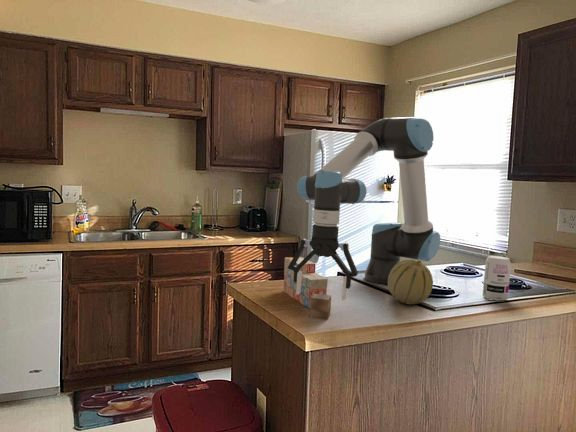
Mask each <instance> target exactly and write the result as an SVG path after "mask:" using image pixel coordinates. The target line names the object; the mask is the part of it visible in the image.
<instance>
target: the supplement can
mask: <svg viewBox="0 0 576 432" xmlns="http://www.w3.org/2000/svg"><path fill="white" fill-rule="evenodd" d="M511 266H512V262H511V260H510V258H509V257H506V256H501V255H488V256H487V258H486V260H485V265H484V267H485V268H484V277H483V288H482V296H483V297H484V298H485V299H486V298H488V299H487V300H489V299H492V300H491V301H493V300H505V301H507V300H508V296H509V290H510V289H509V287H510V277H511V269H512V268H511Z"/></svg>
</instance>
